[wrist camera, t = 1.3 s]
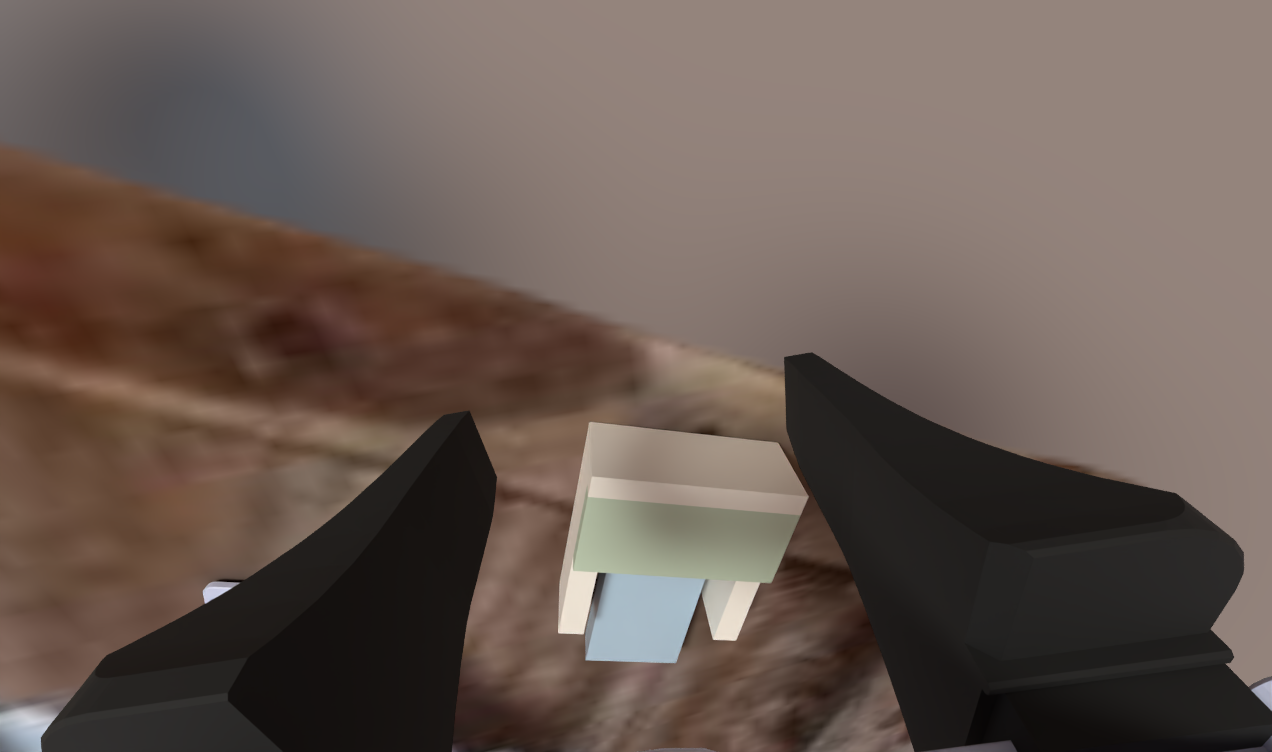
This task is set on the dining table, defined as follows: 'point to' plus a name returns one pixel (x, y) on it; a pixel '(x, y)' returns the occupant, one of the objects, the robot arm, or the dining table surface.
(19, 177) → the dining table surface
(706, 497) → the dock
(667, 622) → the tile
